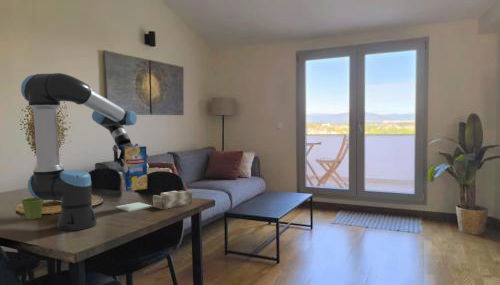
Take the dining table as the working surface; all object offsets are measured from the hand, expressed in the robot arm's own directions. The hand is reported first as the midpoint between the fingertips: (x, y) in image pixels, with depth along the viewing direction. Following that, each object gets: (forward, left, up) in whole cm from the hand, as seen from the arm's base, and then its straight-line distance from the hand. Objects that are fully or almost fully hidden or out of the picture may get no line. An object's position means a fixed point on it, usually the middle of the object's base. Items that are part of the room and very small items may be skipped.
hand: (137, 169), depth 184 cm
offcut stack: (+15, -7, -19) cm, 25 cm away
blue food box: (0, +3, -10) cm, 11 cm away
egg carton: (+15, -8, -20) cm, 27 cm away
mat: (-1, +3, -20) cm, 20 cm away
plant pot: (-43, +20, -20) cm, 51 cm away
